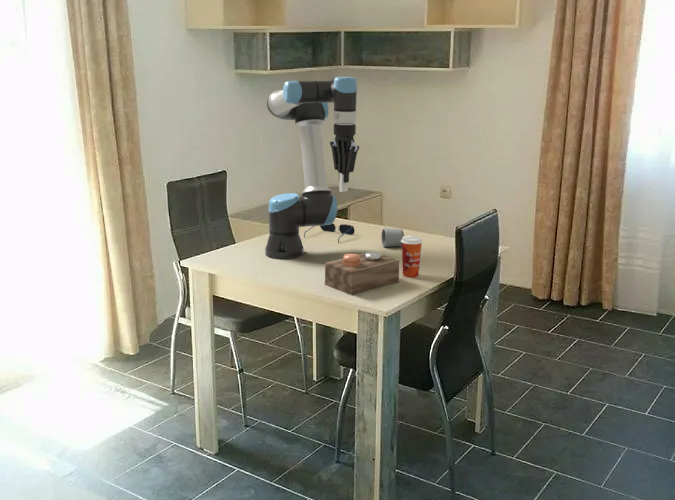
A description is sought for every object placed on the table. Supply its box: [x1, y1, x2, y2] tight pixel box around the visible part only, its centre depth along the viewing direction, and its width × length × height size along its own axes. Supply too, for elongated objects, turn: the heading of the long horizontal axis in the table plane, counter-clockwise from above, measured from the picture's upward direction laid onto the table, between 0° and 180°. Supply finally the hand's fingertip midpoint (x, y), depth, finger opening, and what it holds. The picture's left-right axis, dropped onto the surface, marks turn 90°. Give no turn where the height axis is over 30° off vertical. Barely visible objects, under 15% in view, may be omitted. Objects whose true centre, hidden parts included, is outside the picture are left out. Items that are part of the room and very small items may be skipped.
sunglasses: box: [303, 222, 355, 244], centre depth 330 cm, size 17×15×5 cm
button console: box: [324, 252, 400, 296], centre depth 268 cm, size 14×22×8 cm, turn 130°
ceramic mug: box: [380, 227, 405, 248], centre depth 317 cm, size 11×8×8 cm
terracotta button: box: [343, 253, 361, 267], centre depth 264 cm, size 6×6×8 cm
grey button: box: [364, 251, 382, 262], centre depth 271 cm, size 6×6×8 cm
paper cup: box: [401, 235, 423, 279], centre depth 277 cm, size 8×8×14 cm
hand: (343, 191), depth 269 cm, fingers closed
